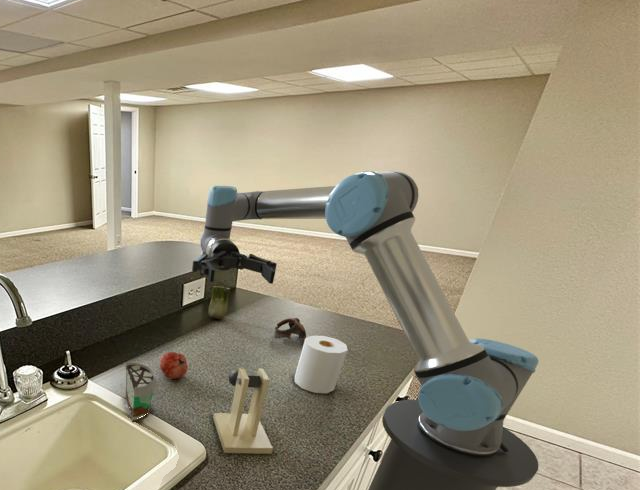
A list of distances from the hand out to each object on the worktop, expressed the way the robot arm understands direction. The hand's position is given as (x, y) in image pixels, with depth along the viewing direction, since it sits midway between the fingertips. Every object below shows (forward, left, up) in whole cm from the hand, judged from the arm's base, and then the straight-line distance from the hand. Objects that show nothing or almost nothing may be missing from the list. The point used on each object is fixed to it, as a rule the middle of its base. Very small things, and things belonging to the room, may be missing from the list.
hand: (242, 276), depth 90 cm
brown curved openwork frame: (-1, -43, -30) cm, 53 cm away
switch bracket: (-13, +14, -30) cm, 35 cm away
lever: (-10, +11, -20) cm, 25 cm away
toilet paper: (-16, -20, -30) cm, 40 cm away
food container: (+10, +22, -30) cm, 39 cm away
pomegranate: (+14, +4, -30) cm, 33 cm away
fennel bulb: (+26, -41, -30) cm, 57 cm away
